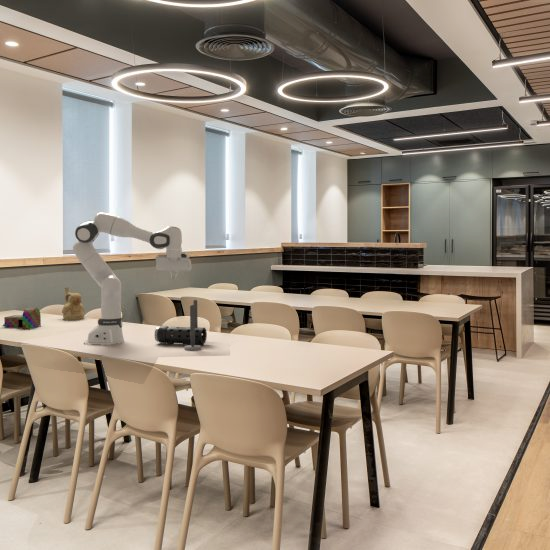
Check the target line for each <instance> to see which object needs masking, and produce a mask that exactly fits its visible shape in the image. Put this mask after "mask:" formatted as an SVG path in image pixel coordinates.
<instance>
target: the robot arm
mask: <svg viewBox="0 0 550 550" xmlns="http://www.w3.org/2000/svg"><path fill="white" fill-rule="evenodd" d="M100 233H104V234H107V235H111V236H114V237H119V238H133V239H137V240H140V241H142V242H146V243H148V244H150V245H151V247H153V248H154V249H156V250H164V249H165V254H158V255H156V256H155V263H156V264H155V270H156V271H162V272H163V271H165V272H167V271H168V273H169V275H170V279H171V280H176V279H177V276H178V274H179V272H191V271H192V261H191V258H190V254H188V253H186V252H182V251H183V249H182V243H183V239H182V238H183V234H182V230H181V228H179V227H177V226H171V225H168V226H167V227H165V228H163V229H162V230H159V231H156V232H154V231H153V232H152V231H148V230H146V229H142V228H140V227H138V226H136V225H134V224H132V223H131V222H130V221H129V220H126V219H125V218H122V217H121V216H118V215H115V214H111V213H106V212H98V213H97V214H96V215H94V219H93V220H87V221H84V222H81V223H80V224H79V225H78V226H77V227H76V228H75V231H74V235H75V238H76V239H77V241H76V242H75V243H74V244H73V246H72V251H73V252H74V254H75V257H76V258H77V259H78V261H79V262H80V264H81V265H82V266H83V267H84V269H85V270H86V272H88V274H89V275H90V277H91V278H92V279H93V280H94V281H95V283H96V284H97V285H98V286H99V287H100V293H101V294H100V309H101V310H100V313H101V317H99V318H98V320H97V326H95V327H94V328H93V329H91V330H90V331H89V332H88V335H87V340H85V341H83V344H84V343H85V344H84V345H86V344H101V345H102V346H110V344H112V345H116V343H118V344H122V342H123V343H125V342H124V341H125V338H124V334H123V317H122V282H121V280H120V279H119V278H118V277H117V275H116V274H115V273H114V272H113V270H112V268H111V267H110V266H109V265H108V263H107V262H106V261H105V260H104V258H103V257H102V256H101V253H99V252H98V250H97V249H96V248H95V246H94V244H93V242H95V240H96V239H97V238H98V236H100V235H99V234H100ZM173 272H175V273H176V274H175V275H173ZM101 345H100V346H101Z"/></svg>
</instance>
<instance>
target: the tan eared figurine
mask: <svg viewBox="0 0 550 550" xmlns="http://www.w3.org/2000/svg"><path fill="white" fill-rule="evenodd" d="M64 291H65V295H64V302H65V304H64V305H63V308H62V310H61V314H63V315H62V318H63V320H65V321H77V320H78V321H79V320H83V319H85V314H84V313H85V308H84V305H83V304H82V303H81V302H82V295H81V294H80V293H78V292H74V293H73V292H70V287H64Z"/></svg>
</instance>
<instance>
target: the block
mask: <svg viewBox="0 0 550 550" xmlns="http://www.w3.org/2000/svg"><path fill="white" fill-rule="evenodd" d="M41 316H42V315H41V311H40V309H39V308H37V307H26V308H25V309H24V310H23V311H22V314H16V315H15V314H14V315H9V316H5V317H3V318H4V323H3V325H2V327H4V328H14V329H15V328H16V330H18V328H19V329H20V325H22V330H34V329H36V328H40V327H42V326H41V325H42V324H41V321H42V319H41Z"/></svg>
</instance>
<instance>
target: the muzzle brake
mask: <svg viewBox="0 0 550 550" xmlns="http://www.w3.org/2000/svg"><path fill="white" fill-rule="evenodd" d="M207 334H208V333H207V329H206V327H198V328H195V345H200V346H204V344H206V342H207V337H208V336H207ZM154 340H155V341H156V343H157V342H158V343H160V344H167V345H172V344H173V345H175V344H182V345H183V346H185V345H191V344H190V326H184V327H183V326H181V327H180V326H167V325H160V326H157V327H156V328H155V330H154Z"/></svg>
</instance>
